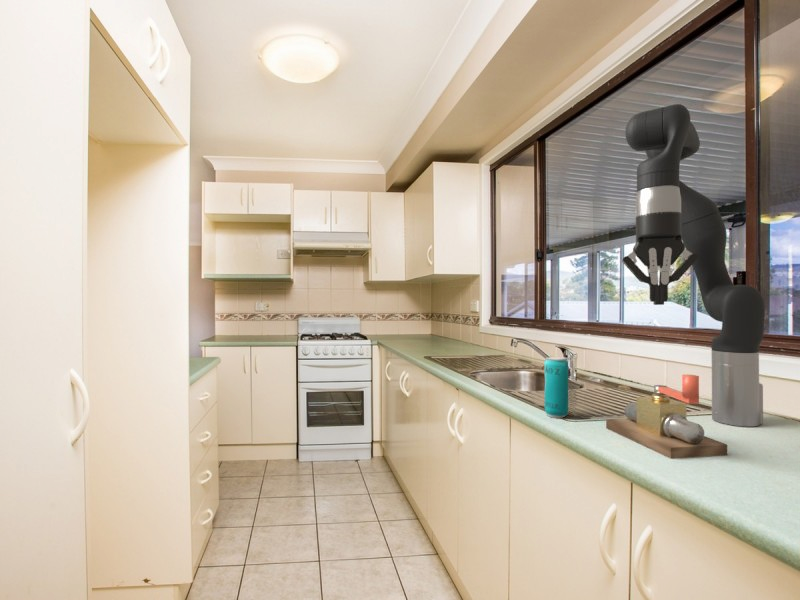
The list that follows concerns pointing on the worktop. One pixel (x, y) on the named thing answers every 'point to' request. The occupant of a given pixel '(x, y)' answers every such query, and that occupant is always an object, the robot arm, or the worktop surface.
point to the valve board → (665, 428)
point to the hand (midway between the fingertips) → (658, 304)
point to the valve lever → (688, 390)
